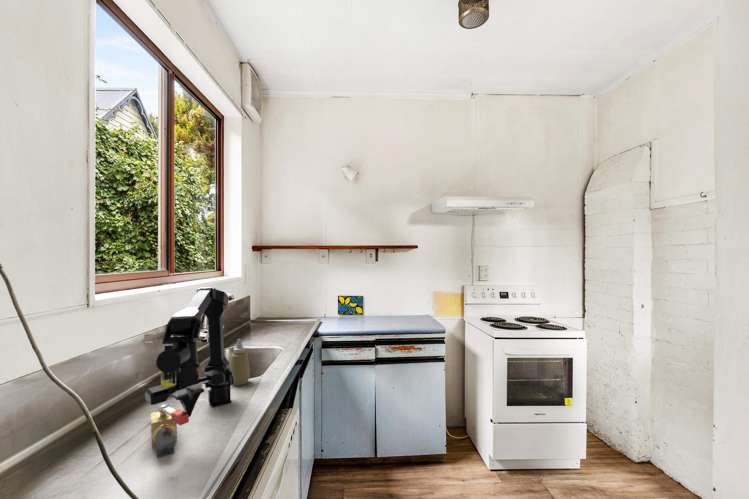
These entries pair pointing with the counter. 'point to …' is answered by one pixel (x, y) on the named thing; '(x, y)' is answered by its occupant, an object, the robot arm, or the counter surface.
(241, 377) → the squeeze bottle
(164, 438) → the valve body
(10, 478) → the counter surface
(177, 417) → the valve lever
